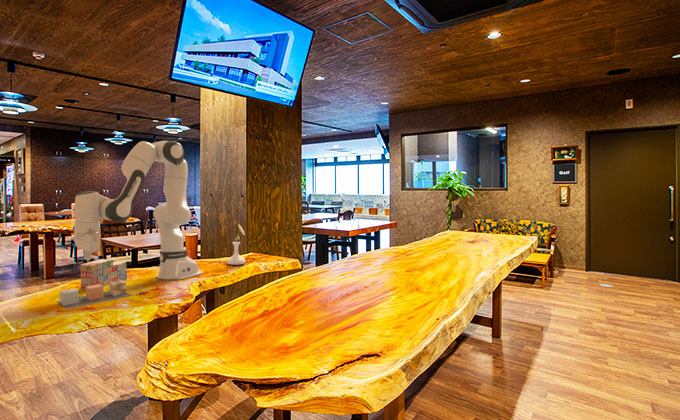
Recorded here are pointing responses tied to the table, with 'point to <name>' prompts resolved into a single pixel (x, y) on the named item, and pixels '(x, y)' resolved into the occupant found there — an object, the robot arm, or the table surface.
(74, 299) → the light gray cube
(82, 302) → the charcoal mat
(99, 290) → the terracotta block
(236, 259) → the flower in vase
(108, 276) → the stack of blocks
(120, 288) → the birch block
